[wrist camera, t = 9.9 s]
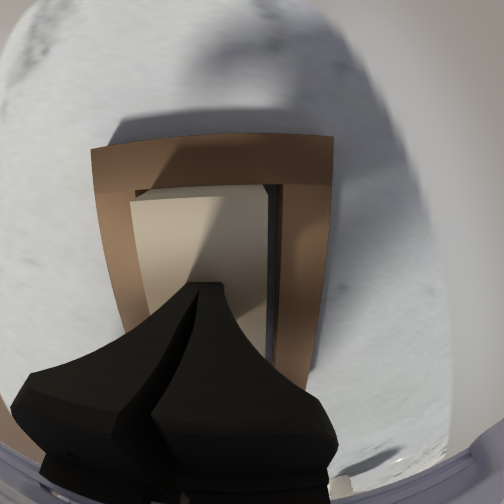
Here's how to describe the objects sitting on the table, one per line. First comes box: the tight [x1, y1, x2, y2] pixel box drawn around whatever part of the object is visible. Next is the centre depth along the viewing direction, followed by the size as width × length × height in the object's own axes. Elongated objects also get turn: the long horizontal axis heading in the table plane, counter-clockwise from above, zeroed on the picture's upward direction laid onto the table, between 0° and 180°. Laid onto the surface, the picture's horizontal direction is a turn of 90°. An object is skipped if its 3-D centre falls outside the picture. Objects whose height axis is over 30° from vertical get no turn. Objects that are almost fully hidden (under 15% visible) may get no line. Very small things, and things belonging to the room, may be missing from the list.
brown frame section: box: [91, 133, 334, 391], centre depth 13 cm, size 15×10×2 cm, turn 0°
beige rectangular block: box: [130, 184, 268, 358], centre depth 12 cm, size 8×4×4 cm, turn 1°
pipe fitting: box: [328, 475, 367, 500], centre depth 24 cm, size 6×7×8 cm
